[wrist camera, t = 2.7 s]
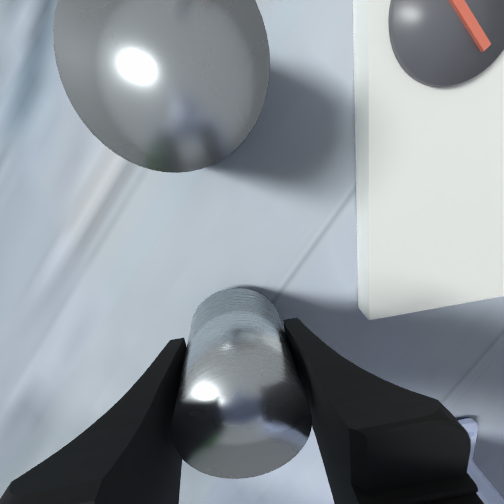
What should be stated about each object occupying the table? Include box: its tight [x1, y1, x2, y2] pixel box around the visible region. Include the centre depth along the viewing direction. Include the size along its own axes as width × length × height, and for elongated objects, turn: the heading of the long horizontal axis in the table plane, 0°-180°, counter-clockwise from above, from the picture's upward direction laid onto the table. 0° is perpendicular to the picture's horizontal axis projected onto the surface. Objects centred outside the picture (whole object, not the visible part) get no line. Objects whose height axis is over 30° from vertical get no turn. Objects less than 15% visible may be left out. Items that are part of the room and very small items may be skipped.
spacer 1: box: [53, 0, 270, 173], centre depth 9 cm, size 4×4×6 cm
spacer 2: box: [171, 288, 312, 479], centre depth 11 cm, size 4×4×6 cm
